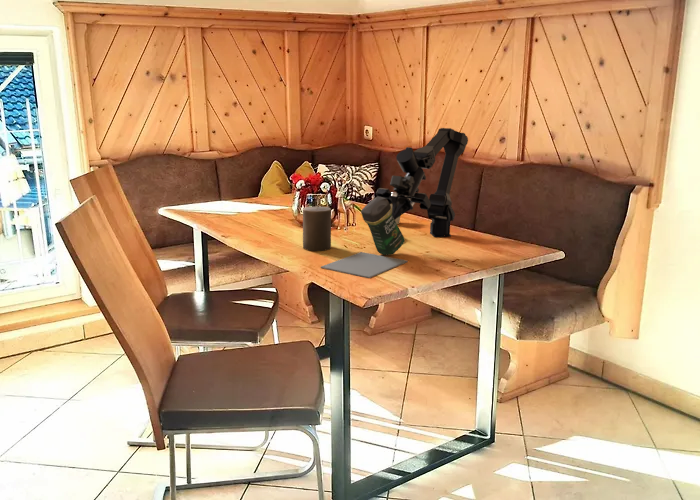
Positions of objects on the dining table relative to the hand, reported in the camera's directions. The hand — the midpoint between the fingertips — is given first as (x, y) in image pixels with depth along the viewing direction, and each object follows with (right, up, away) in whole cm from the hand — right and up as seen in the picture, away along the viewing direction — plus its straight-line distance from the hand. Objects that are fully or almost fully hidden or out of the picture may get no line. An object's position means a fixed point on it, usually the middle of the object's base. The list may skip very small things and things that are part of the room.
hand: (392, 218), depth 212 cm
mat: (-9, -15, -10) cm, 20 cm away
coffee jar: (0, -9, +3) cm, 10 cm away
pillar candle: (-25, -10, +11) cm, 29 cm away
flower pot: (+3, 0, +49) cm, 49 cm away
